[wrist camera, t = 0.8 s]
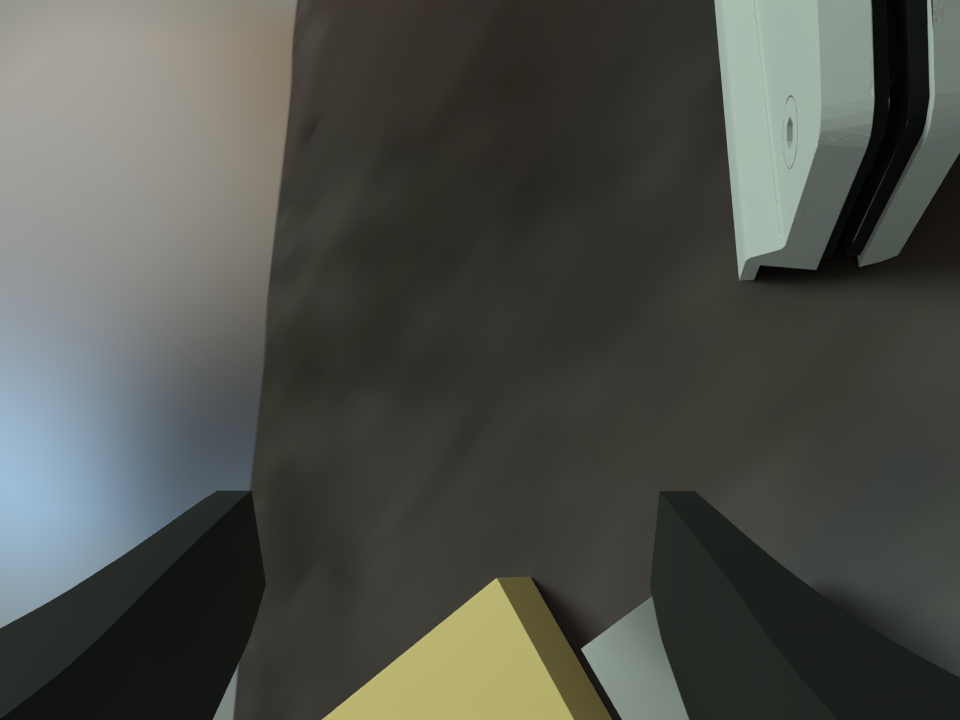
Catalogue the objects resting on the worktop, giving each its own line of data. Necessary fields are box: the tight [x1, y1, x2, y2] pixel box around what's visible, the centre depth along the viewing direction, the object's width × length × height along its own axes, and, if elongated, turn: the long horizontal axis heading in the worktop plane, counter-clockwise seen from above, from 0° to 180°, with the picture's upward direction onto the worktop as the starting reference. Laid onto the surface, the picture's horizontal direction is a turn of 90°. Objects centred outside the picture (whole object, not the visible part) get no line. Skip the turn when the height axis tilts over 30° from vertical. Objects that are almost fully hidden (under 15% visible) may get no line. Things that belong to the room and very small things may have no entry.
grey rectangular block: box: [581, 597, 689, 720], centre depth 19 cm, size 3×4×8 cm
